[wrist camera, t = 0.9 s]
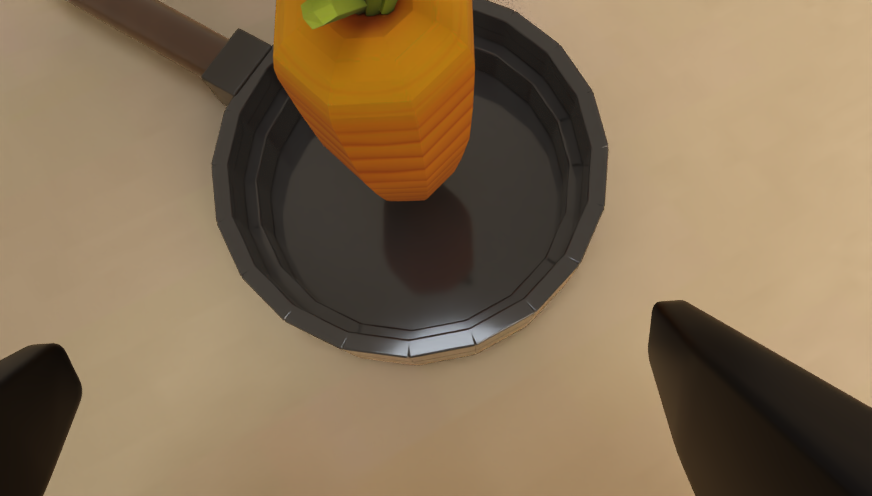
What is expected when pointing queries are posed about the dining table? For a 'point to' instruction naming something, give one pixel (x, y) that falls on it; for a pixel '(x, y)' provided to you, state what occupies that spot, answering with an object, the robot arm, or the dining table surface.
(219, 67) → the pan handle
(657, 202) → the dining table surface
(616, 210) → the dining table surface
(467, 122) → the carrot
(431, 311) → the pan
